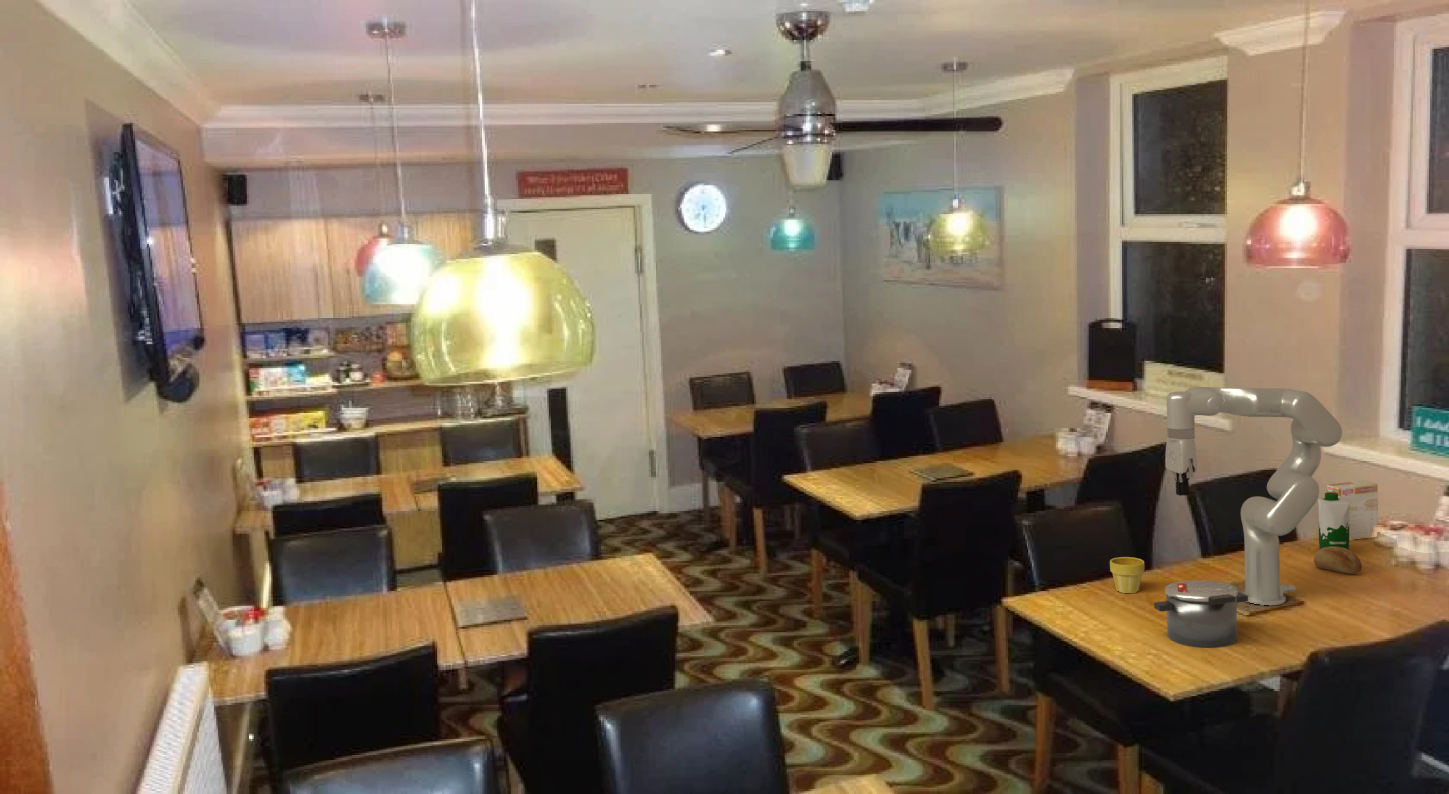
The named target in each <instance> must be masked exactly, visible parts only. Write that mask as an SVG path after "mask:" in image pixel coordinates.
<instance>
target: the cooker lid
mask: <svg viewBox="0 0 1449 794" xmlns="http://www.w3.org/2000/svg"><path fill="white" fill-rule="evenodd" d="M1164 592H1165V596H1166V595H1168V596H1169V597H1172V598H1175V599H1179V600H1185V601H1195V602H1211V603H1213V604H1220V603H1229V602H1235V597H1236V596H1237V595H1238V593H1239V592H1238V588H1237V587H1236V586H1235V585H1233V584H1231V583H1226V582H1221V581H1213V580H1212V581H1211V580H1183V581H1177V582H1176V581H1175V582H1171V583H1170V584H1168V585H1166V586H1165V587H1164Z"/></svg>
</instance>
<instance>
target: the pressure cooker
mask: <svg viewBox="0 0 1449 794" xmlns="http://www.w3.org/2000/svg"><path fill="white" fill-rule="evenodd" d="M1165 596H1166V600H1165V601H1158V602H1156V601H1155V602H1153V607H1154V609H1155V610H1157V611H1159V612H1166V632H1167V634H1166V635H1167V638H1168V639H1170V640H1171V641H1172V642H1175V643H1177V644H1180V645H1183V646H1187V647H1192V648H1193V647H1194V648H1203V649H1205V648H1206V649H1213V648H1214V649H1215V648H1222V647H1223V648H1224V647H1228V646H1232V645H1233V644H1235V643H1237V641H1238V609H1237V608H1238V607H1237V606H1238V605H1237V603H1246V601H1248V595H1246V594H1243V593H1242V592H1238V595H1237V596H1236V597H1235V602H1229V603H1220V604H1213V603H1211V602H1195V601H1185V600H1179V599H1175V598H1172V597H1169V596H1168V595H1166V594H1165Z"/></svg>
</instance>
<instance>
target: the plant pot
mask: <svg viewBox="0 0 1449 794" xmlns="http://www.w3.org/2000/svg"><path fill="white" fill-rule="evenodd" d="M1109 569H1110V570H1109V571H1110V572H1111V573H1112V576H1113V581H1114V585H1115V589H1116V591H1117V592H1118V591H1119V592H1118V593H1120V592H1122V593H1121V594H1125V593H1133V594H1136V593H1135V592H1137V591H1138V592H1139V590H1140V587H1141V586H1140V585H1141V581H1142V575H1143V574H1144V573H1145V561H1144V560H1143V559H1141V558H1137V557H1129V556H1121V557H1114V558H1112V559H1110V560H1109ZM1138 592H1137V593H1138Z"/></svg>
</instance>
